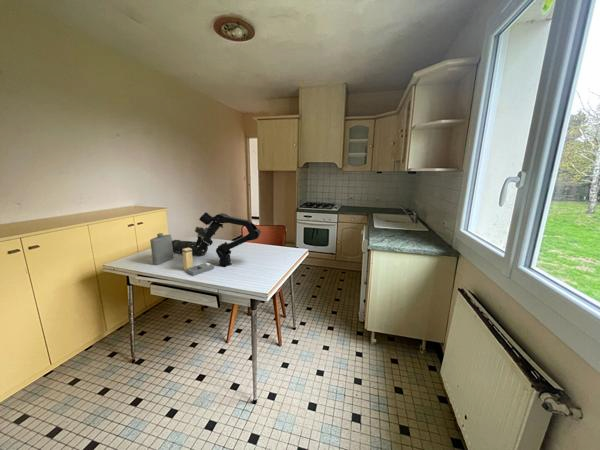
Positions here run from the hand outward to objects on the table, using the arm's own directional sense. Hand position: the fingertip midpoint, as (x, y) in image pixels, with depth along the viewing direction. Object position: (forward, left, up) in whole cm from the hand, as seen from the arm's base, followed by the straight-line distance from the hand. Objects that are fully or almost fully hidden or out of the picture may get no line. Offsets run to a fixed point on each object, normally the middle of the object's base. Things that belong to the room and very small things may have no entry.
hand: (196, 248), depth 147 cm
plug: (+5, -2, -13) cm, 14 cm away
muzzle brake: (-10, -31, -14) cm, 36 cm away
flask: (+9, -29, -14) cm, 34 cm away
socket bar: (+1, +5, -13) cm, 14 cm away
